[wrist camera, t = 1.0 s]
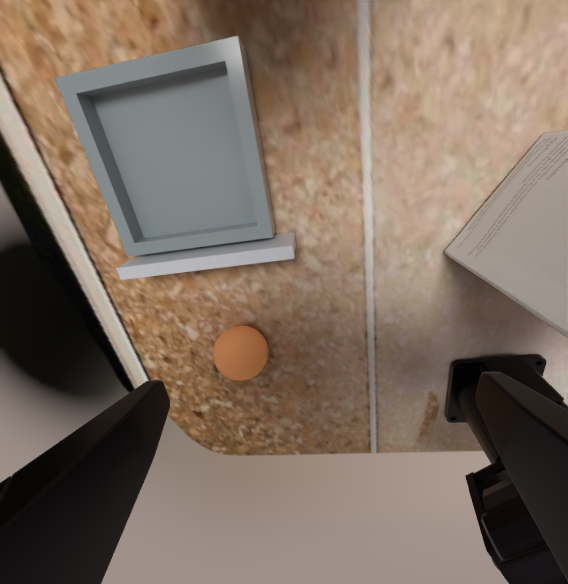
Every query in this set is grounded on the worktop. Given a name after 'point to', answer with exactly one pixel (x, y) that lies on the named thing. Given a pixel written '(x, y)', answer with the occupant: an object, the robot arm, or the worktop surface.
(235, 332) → the ball
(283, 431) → the worktop surface
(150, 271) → the wall
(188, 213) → the tray
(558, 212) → the skincare box
